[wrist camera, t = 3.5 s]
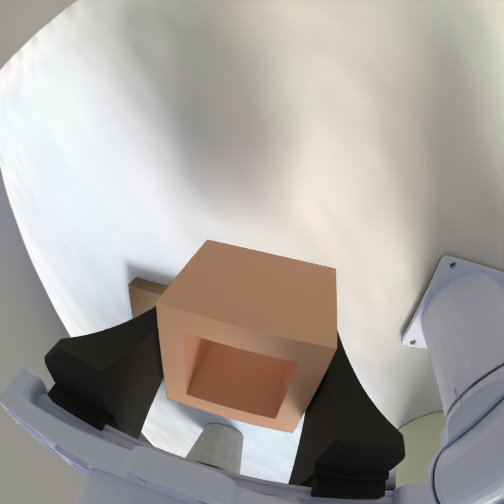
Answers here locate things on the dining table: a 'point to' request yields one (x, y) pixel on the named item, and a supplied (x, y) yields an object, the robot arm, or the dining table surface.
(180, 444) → the dining table surface
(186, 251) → the dining table surface
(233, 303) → the open box
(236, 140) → the dining table surface
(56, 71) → the dining table surface
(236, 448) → the house plant
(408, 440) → the can
